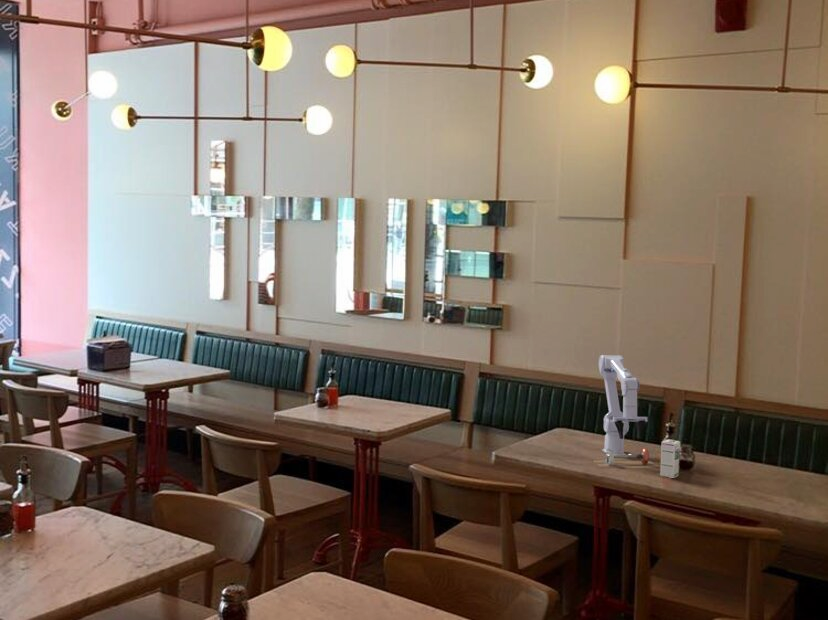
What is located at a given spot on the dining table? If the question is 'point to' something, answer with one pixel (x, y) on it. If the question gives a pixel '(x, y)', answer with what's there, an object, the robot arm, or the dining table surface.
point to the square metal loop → (610, 458)
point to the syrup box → (670, 458)
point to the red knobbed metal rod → (635, 456)
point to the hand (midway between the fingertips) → (630, 438)
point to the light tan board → (626, 464)
